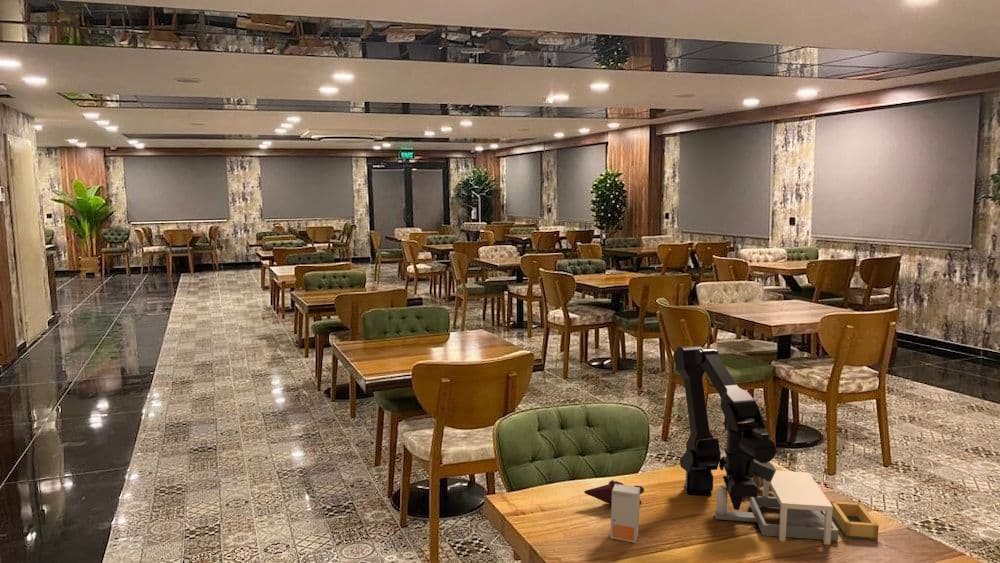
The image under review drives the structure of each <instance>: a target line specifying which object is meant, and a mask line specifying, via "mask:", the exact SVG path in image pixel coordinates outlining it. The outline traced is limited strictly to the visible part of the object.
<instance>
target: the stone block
mask: <svg viewBox="0 0 1000 563" xmlns="http://www.w3.org/2000/svg"><path fill="white" fill-rule="evenodd" d="M780 507H781V506H780ZM824 522H825V516H824V515H823V514H821V512H820V511H817V510H803V509H788V508H787V522H786V525H791V526H805V527H819V528H824Z"/></svg>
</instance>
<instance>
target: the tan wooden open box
mask: <svg viewBox="0 0 1000 563" xmlns="http://www.w3.org/2000/svg"><path fill="white" fill-rule="evenodd" d="M830 503H831V505H832V506H833V510H832V521H834V522H833V523H834V524H835V526H836V527H837V529H838V530H839V531H840V532H841V534H842V535H843V536H844V538H845V539H853V540H854V539H856V540H868V541H879V539H878V538H879V528H880V527H879V524H878V523H877V521H876V520H875V518H873V517H872V515H871V514H870V513H869V512H868V510H867V509H866V508H865V506H864V505H863V504H862V503H861V502H860V503H859V502H845V501H844V502H843V501H830Z"/></svg>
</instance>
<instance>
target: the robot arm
mask: <svg viewBox="0 0 1000 563" xmlns="http://www.w3.org/2000/svg"><path fill="white" fill-rule="evenodd" d="M672 358H673V361H674V363H675V364H674V365H675V370H676V372H677V373H678V374H679V376H681V378H682V379H683V383H684V384H683V385H684V393H685V397H686V398H685V399H686V406H687V407H686V408H687V414H688V422H689V428H690V433H689V437H688V438H687V441H686V442H685V443H686V444H685V445H686V446H685V447H686V450H685V451H686V452H685V453H684V454H683V455H682V456H681V457H680V458H679V464H680V466H679V467H680V468H681V469H683V470H684V471H685V483H684V489H685V493H686V494H687V495H695V496H696V495H698V496H712V494H713V493H712V491H713V490H714V475H713V473H712V471H717V470H718V468H719V470H720V471H724V470H725V473H726V475H723V476H722V479H723V482H724V483H725V484H724V485H725V487H727V490H728V497H729V499H730V502H731V505H732V508H733V511H739V510H740V508H741V505H742V502H743V499H744V498H745V497H747V498H750V497H758V496H759V489H758V488H757V486H756V484H755V482H754V481H753V480H752V479H749V478H748V477H750V478H754V475H756V476H758V477H760V478H763V479H765V480H766V481H768V482H771V481H772V478H773V476H774V474H775V472H776V471H777V470H776V468H775V466H774V465H773V464H772V463H771V461H772V460H773V459H774V457H775V456H776V454H777V447H776V445H775V444H776V443H774V441H773V440H771V439H770V434H769V433H767V432H764V431H763V430H766V425H765V419H764V418H763V417H764V416H762V413H761V411H760V407H759V405H758V403H757V401H756V400H755V399H754V398H753V397H752V395H751V394H750V393H749V392H748V391H746V390H745V389H743V388H740V386H738V384H737V383H736V381H735V380H734V379H733V378H734V377H732V375H731V373H730V372H729V370H728V369H727V367H726V366H725V364H724V363H723V361H722V360H721V358H720V356H719V352H718V350H717V349H716V348H713V347H712V348H703V347H702V346H701V345H688V346H686V345H685V346H678V347H676V350H675V351H674V352H673V356H672ZM705 374H706V376H707V377H708V379H709V381H710V382H711V384H712V385H713V387H714V389H715V391H716V392H717V393H718V395H719V397H720V409H721V411H722V413H723V415H724V417H725V420H724V421H723V422H722V425H723V426H725V427H727V429H726V430H727V433H726V434H727V435H726V447H724V453H725V455H726V456H722V455H721V454H722V452H721V449H720V441H719V439H718V438H715V437H714V436H713V434H712V433H711V430H710V426H709V417H708V410H707V403H706V396H705V395H706V394H705V388H704V381H703V377H704V375H705ZM761 430H762V431H761Z"/></svg>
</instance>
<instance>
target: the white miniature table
mask: <svg viewBox="0 0 1000 563" xmlns="http://www.w3.org/2000/svg"><path fill="white" fill-rule="evenodd" d="M769 485H770V487H771V489H772V491H773V492H772V493H773V494H774V497H776V498H777V500H778V502H779V504H780V506H781V507H780V508H779V524H778V525H779V536H778V540H779V542H786V538H787V537H786V522H787V508H788V509H803V510H817V511H825V522H824V538H823V540H822V542H823V544H824V545H829V546H831V541H832V540H831V526H832V521H833V519H832V510H833V506H832V505H831V501H830V500H829V499H828V498H827V496H826V494H824V492H823V491H822V489H821V488H820V486H819V485H818V483H817V482H816V480H815V479H814V478H813V476H812V475H811V473H810V472H807V471H806V472H805V471H804V472H803V471H792V470H791V471H789V470H776V472H775V474H774V476H773V478H772V481H771V482H768V481H766V480H765V479H763V487H762V496H766V497H770V496H769V495H770V491H769Z"/></svg>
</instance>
